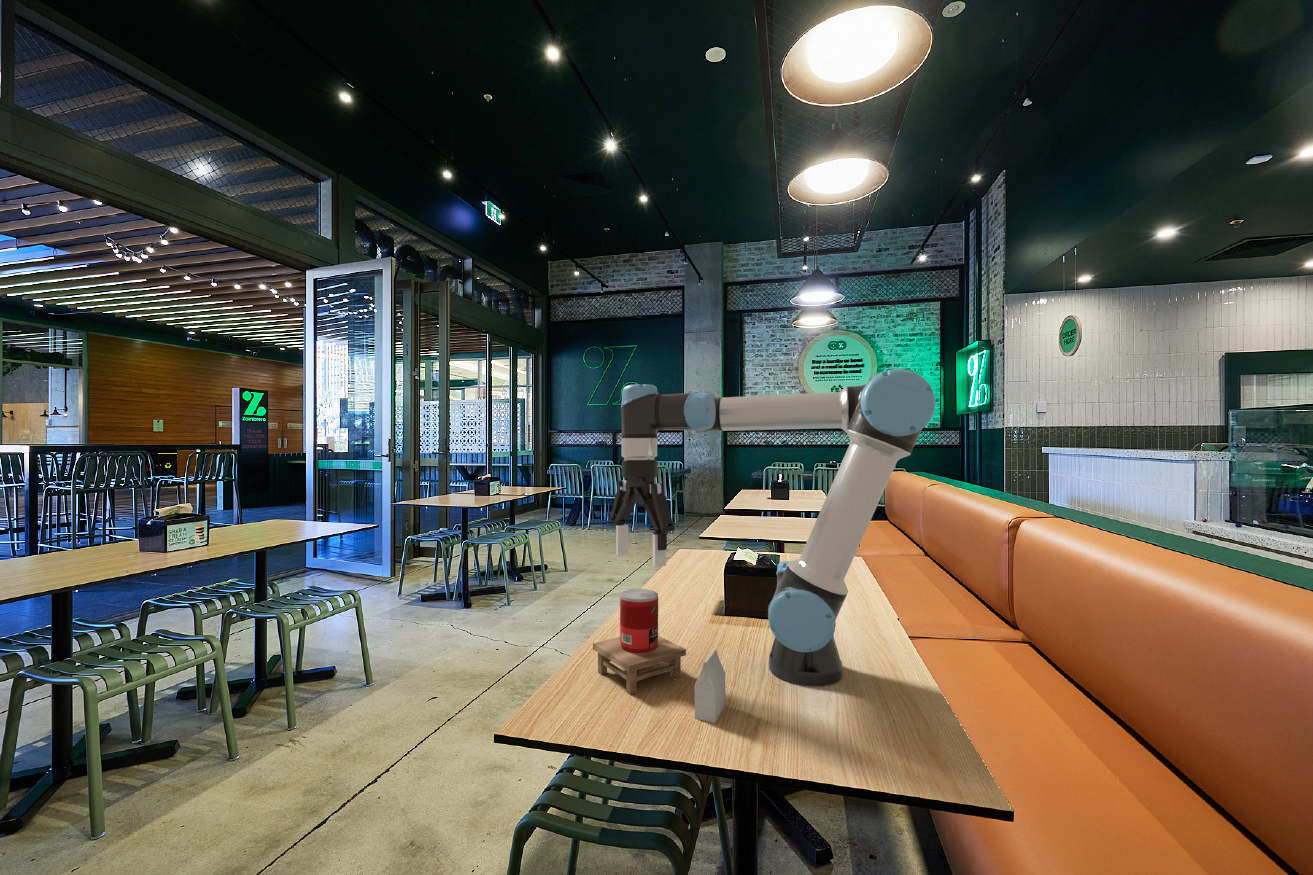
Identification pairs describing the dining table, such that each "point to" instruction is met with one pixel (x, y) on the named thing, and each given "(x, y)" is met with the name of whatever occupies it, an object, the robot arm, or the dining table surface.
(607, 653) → the stool
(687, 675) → the dining table surface
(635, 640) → the canned food
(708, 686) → the grey pointed block
